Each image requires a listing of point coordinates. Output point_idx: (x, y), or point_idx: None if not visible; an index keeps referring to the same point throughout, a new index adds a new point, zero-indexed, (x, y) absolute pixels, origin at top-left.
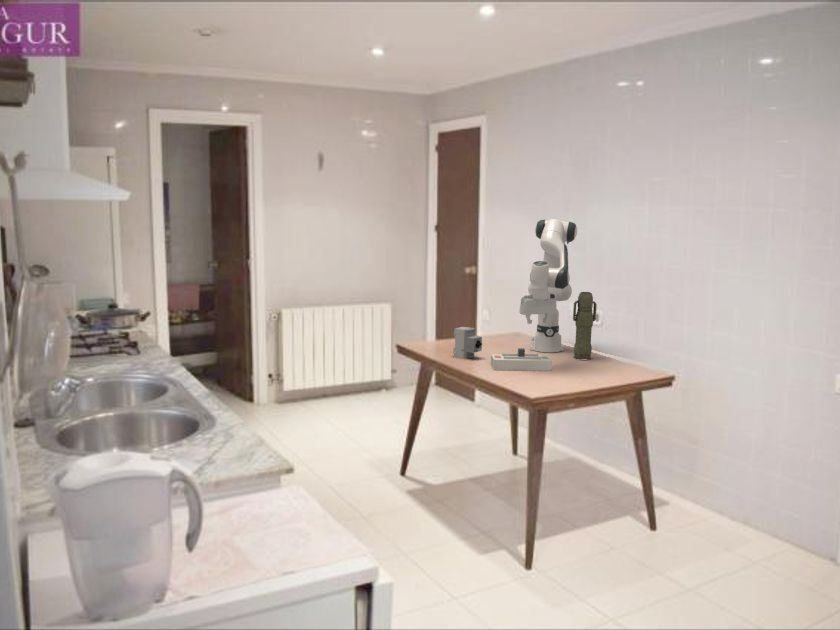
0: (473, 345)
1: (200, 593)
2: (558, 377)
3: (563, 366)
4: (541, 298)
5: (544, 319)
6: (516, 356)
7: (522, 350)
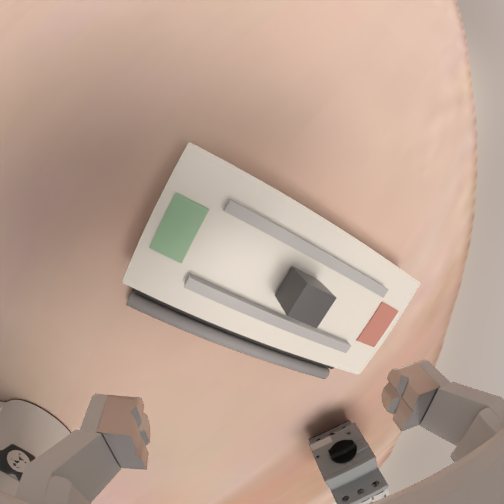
0: (365, 440)
1: None
2: (252, 37)
3: (78, 206)
4: None
5: (135, 441)
6: None
7: (316, 286)
